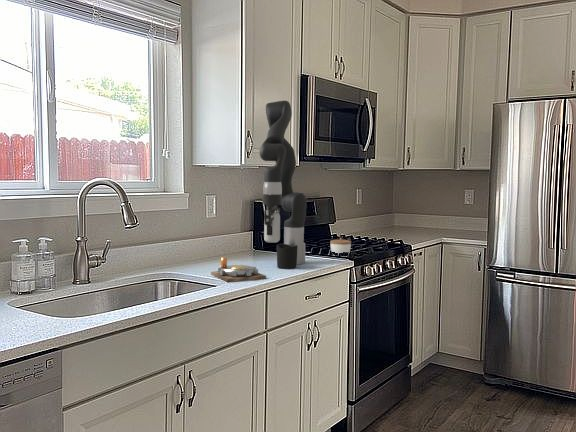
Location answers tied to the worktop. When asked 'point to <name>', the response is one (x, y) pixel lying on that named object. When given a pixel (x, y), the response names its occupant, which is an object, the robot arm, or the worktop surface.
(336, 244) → the lidded jar
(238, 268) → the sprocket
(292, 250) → the pen holder
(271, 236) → the beverage can
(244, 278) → the board
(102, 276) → the worktop surface
